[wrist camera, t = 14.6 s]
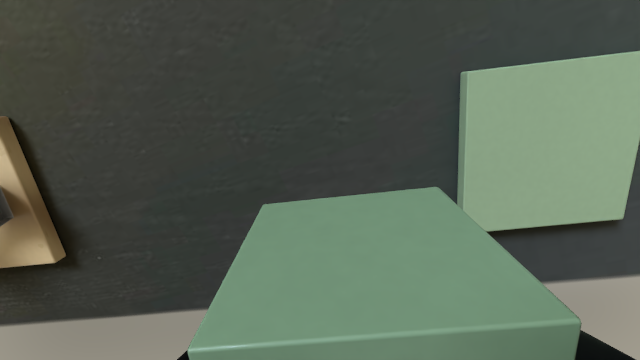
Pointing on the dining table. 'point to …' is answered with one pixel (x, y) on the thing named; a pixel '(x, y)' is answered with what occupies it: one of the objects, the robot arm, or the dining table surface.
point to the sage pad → (549, 141)
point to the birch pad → (23, 210)
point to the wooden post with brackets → (4, 210)
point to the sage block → (380, 288)
